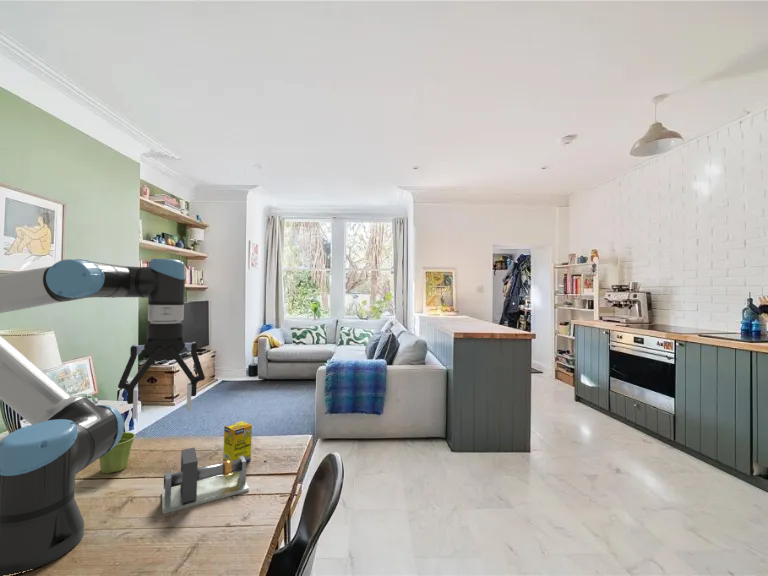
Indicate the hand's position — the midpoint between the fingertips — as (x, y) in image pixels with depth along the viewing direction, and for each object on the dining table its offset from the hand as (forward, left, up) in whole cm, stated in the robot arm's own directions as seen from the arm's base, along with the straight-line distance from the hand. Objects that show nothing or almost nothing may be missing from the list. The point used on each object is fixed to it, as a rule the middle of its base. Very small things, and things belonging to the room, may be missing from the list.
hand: (162, 413), depth 85 cm
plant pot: (-11, +27, -22) cm, 36 cm away
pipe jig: (+10, 0, -22) cm, 24 cm away
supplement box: (+20, +14, -22) cm, 33 cm away
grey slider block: (+6, 0, -21) cm, 22 cm away
